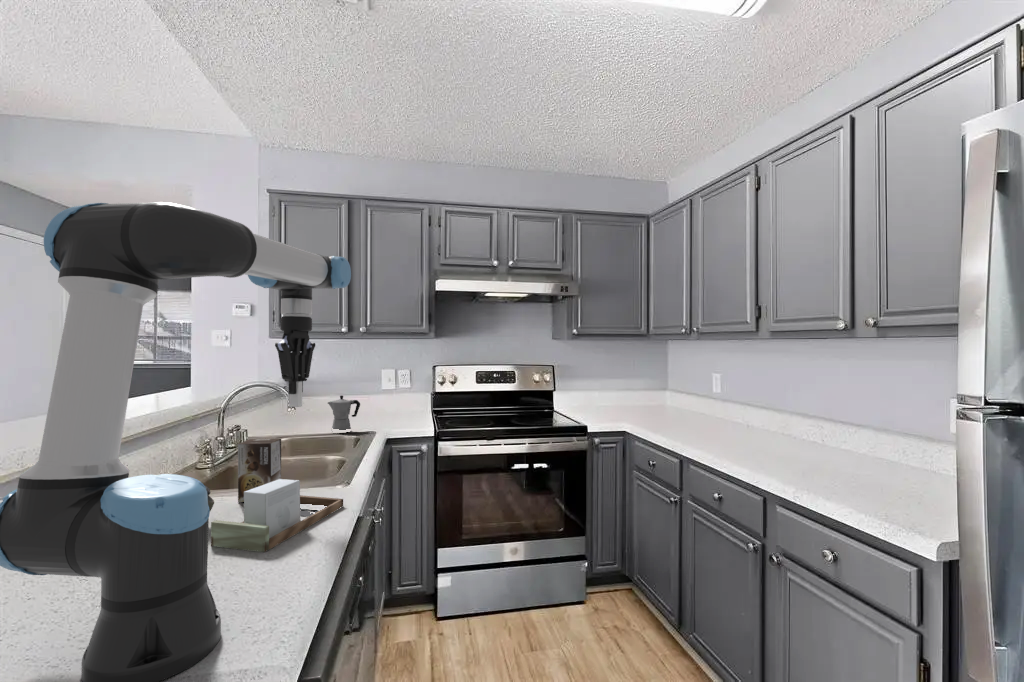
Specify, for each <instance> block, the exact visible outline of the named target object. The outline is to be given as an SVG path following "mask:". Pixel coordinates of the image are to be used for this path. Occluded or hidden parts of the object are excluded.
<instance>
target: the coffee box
mask: <svg viewBox="0 0 1024 682" xmlns="http://www.w3.org/2000/svg"><path fill="white" fill-rule="evenodd" d="M237 460H238V461H237V503H238V502H244V492H245V491H248V490H250V489H253V488H256V487H259V486H262V485H264V484H267V483H270V482H273V481H275V480H278V479H282V438H254V439H253V438H250V439H246V440H245V441H242V442H240V443H238V444H237Z"/></svg>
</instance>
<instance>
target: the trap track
mask: <svg viewBox="0 0 1024 682" xmlns="http://www.w3.org/2000/svg"><path fill="white" fill-rule="evenodd" d="M300 504H312V505H324V506H327V507H325V508H324V509H322V510H320V511H318V512H316V513H315V514H313V515H311V516H309V517H305V518H304V519H301V521H300V522H298V523H296V524H295V525H293V526H291V527H289V528H287V529H285V530H284V531H282V532H280V533H278V534H276V535H275V536H273V537H271V538H269V526H268V525H258V524H249V523H244V520H243V521H241V522H239V521H229V520H218V519H215V520H213V521H211V523H210V547H214V548H215V547H216V546H217V548H223V547H224V548H226V549H233V550H243V551H249V552H250V551H251V552H257V553H266V552H268V551H270V550H272V549H273V548H275V547H277V546H278V545H280V544H282V543H283V542H285V541H286V540H288V539H290V538H292V537H294V536H296V535H297V534H299V533H300V532H302V531H303V530H305V529H307V528H309V527H311V526H312V525H314V524H316V523H317V521H318V522H320V521H321V520H323V519H325V518H326V517H328V516H330V515H331V514H333V513H334V511H335V512H336V510H337V509H338V510H340V509H341V508H340V507H342V506H343V507H344V498H337V497H323V496H314V495H313V496H312V495H301V494H300ZM343 507H342V508H343ZM339 508H340V509H339ZM338 510H337V511H338ZM332 512H333V513H332ZM329 514H330V515H329ZM327 515H328V516H327ZM322 518H323V519H322Z"/></svg>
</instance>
